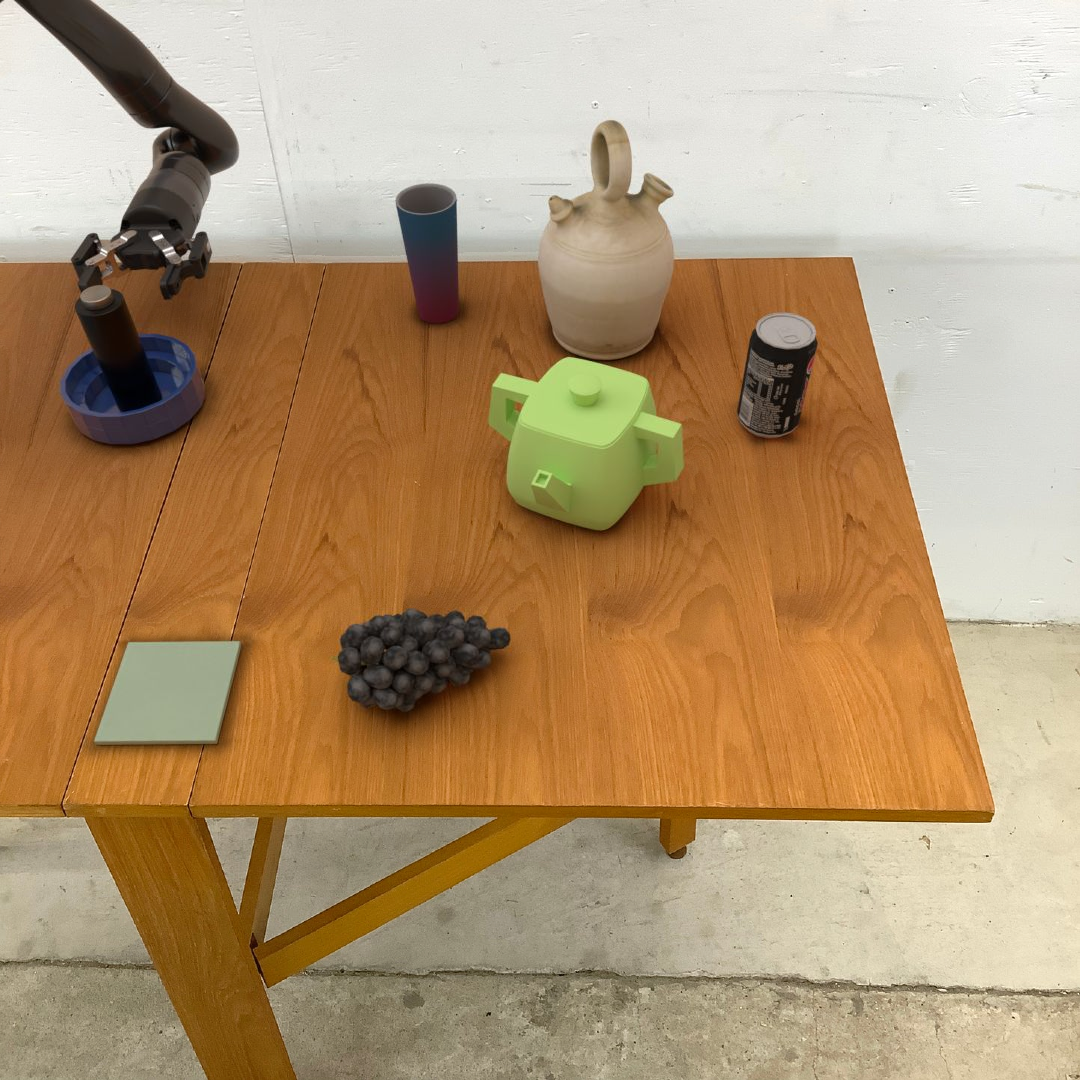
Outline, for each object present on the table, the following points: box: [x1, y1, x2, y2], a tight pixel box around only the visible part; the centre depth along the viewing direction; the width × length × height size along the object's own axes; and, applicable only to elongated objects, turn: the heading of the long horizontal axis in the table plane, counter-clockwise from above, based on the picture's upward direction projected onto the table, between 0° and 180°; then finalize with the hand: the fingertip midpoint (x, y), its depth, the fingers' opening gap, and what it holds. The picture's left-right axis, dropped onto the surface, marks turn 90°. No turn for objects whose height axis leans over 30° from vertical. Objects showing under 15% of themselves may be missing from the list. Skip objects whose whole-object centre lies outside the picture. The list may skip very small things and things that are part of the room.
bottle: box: [74, 285, 162, 412], centre depth 104 cm, size 5×5×14 cm
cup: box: [395, 182, 460, 325], centre depth 115 cm, size 7×7×15 cm
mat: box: [93, 640, 243, 746], centre depth 84 cm, size 10×10×1 cm
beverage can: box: [736, 311, 819, 439], centre depth 101 cm, size 7×7×12 cm
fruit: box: [330, 608, 512, 713], centre depth 81 cm, size 9×8×15 cm
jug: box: [537, 119, 675, 361], centre depth 108 cm, size 15×16×25 cm
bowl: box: [59, 333, 207, 445], centre depth 108 cm, size 14×14×4 cm
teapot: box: [487, 356, 685, 531], centre depth 94 cm, size 18×20×13 cm
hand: (125, 293), depth 106 cm, fingers open, 8 cm apart
